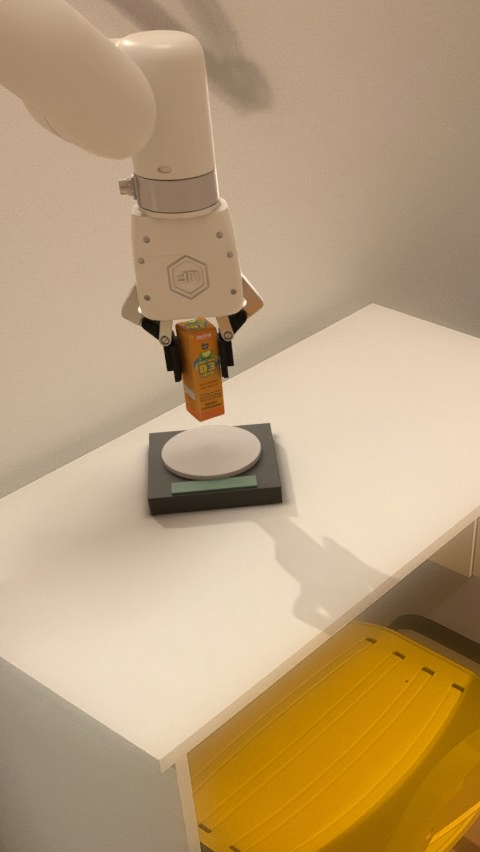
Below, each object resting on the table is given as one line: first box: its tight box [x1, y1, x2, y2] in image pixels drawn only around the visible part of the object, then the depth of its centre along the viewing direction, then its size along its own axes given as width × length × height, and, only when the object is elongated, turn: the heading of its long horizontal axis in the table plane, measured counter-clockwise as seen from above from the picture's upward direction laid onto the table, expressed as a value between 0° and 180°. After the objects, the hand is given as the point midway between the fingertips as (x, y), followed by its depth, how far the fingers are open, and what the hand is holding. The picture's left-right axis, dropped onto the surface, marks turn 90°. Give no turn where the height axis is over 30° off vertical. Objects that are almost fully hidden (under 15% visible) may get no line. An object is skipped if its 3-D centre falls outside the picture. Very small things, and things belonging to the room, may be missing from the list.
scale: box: [147, 422, 283, 516], centre depth 107 cm, size 14×14×3 cm
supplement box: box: [174, 318, 226, 423], centre depth 100 cm, size 3×3×10 cm
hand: (201, 372), depth 101 cm, fingers closed on supplement box, 4 cm apart
